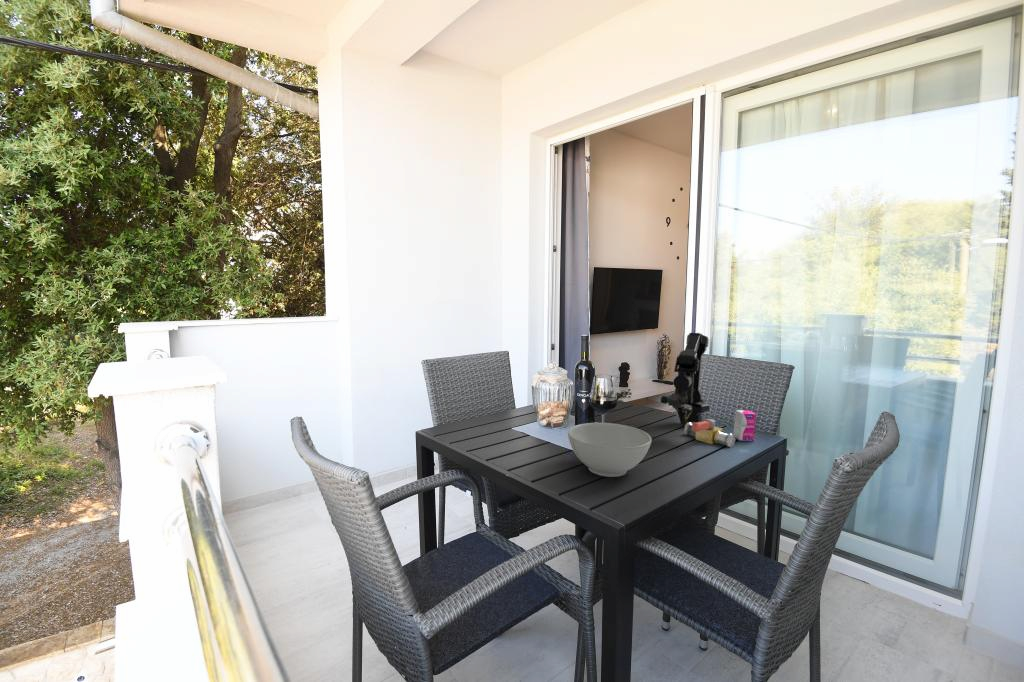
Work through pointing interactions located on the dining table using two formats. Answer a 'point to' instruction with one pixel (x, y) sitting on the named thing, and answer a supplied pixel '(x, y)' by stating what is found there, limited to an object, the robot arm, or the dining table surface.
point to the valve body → (711, 435)
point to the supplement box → (744, 425)
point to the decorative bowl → (609, 447)
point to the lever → (703, 425)
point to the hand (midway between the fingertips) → (682, 424)
